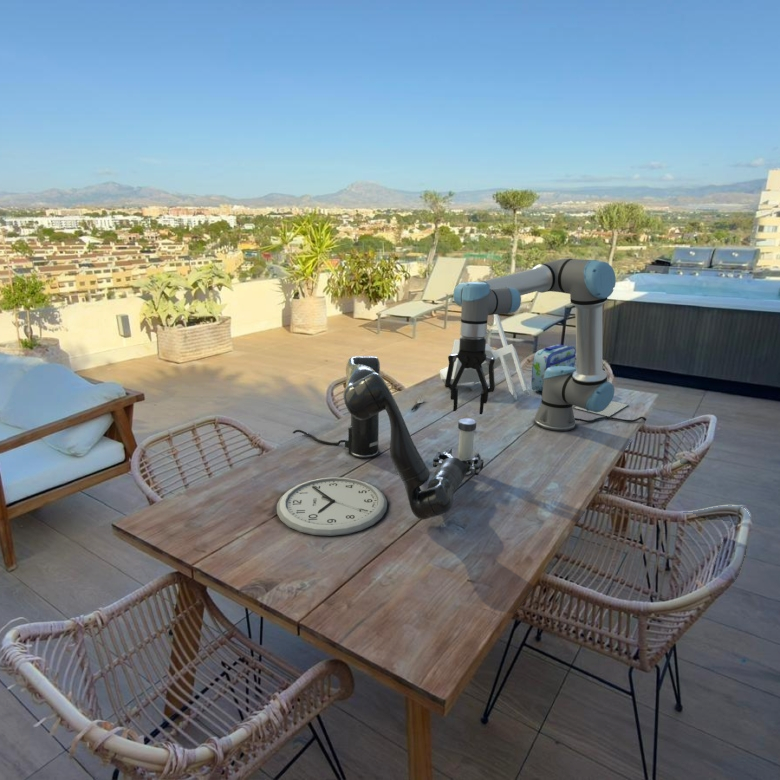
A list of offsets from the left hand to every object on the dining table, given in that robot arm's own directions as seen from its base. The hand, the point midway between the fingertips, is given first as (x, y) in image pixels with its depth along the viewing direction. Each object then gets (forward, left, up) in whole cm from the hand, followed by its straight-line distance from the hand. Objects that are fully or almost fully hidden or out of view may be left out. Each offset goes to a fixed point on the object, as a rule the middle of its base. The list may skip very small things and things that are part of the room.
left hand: (464, 453), depth 161 cm
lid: (0, +2, +10) cm, 10 cm away
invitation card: (+39, +87, -7) cm, 96 cm away
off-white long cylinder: (0, +2, -7) cm, 7 cm away
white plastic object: (-14, +85, -7) cm, 87 cm away
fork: (-34, +55, -7) cm, 65 cm away
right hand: (0, +2, +13) cm, 13 cm away
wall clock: (-28, -33, -7) cm, 44 cm away
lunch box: (+16, +105, -7) cm, 107 cm away
